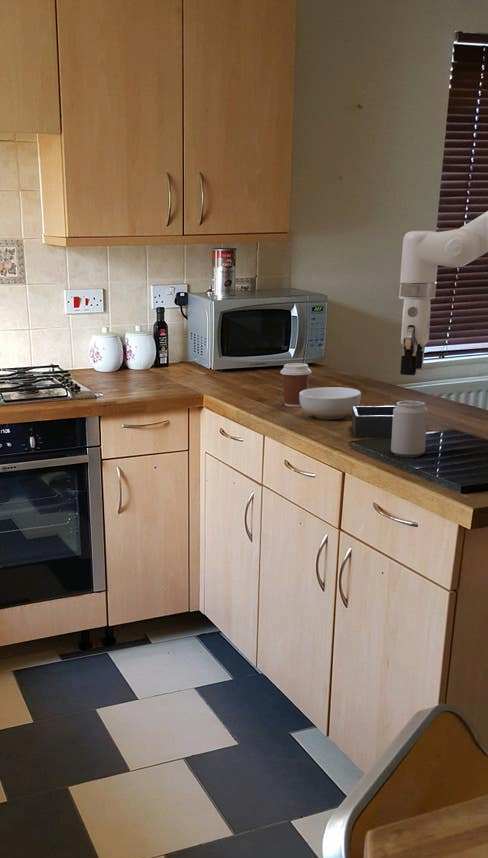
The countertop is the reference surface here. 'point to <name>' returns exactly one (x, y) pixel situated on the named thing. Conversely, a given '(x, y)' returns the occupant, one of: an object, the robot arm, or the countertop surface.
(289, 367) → the coffee cup
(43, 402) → the countertop surface
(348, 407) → the cereal bowl
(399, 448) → the can
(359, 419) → the tote
